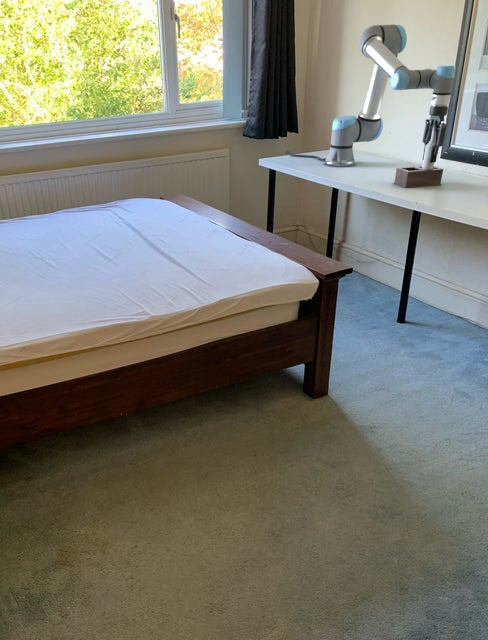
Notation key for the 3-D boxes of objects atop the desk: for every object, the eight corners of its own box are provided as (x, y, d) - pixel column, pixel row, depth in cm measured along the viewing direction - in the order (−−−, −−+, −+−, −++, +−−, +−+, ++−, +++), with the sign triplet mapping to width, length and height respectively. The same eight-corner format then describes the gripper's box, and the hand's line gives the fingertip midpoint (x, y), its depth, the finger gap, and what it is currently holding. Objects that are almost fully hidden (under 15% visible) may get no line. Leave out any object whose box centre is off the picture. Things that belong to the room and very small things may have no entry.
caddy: (394, 183, 279) (396, 167, 275) (428, 180, 282) (431, 165, 279) (405, 187, 271) (408, 171, 267) (440, 184, 274) (443, 169, 271)
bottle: (424, 184, 275) (435, 126, 261) (416, 182, 279) (427, 124, 265) (433, 183, 276) (444, 125, 263) (425, 181, 280) (436, 123, 267)
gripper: (420, 103, 266) (411, 158, 279) (444, 108, 252) (432, 165, 264) (435, 102, 268) (425, 157, 280) (459, 107, 253) (447, 164, 265)
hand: (428, 161), depth 272 cm, fingers closed on bottle, 5 cm apart
